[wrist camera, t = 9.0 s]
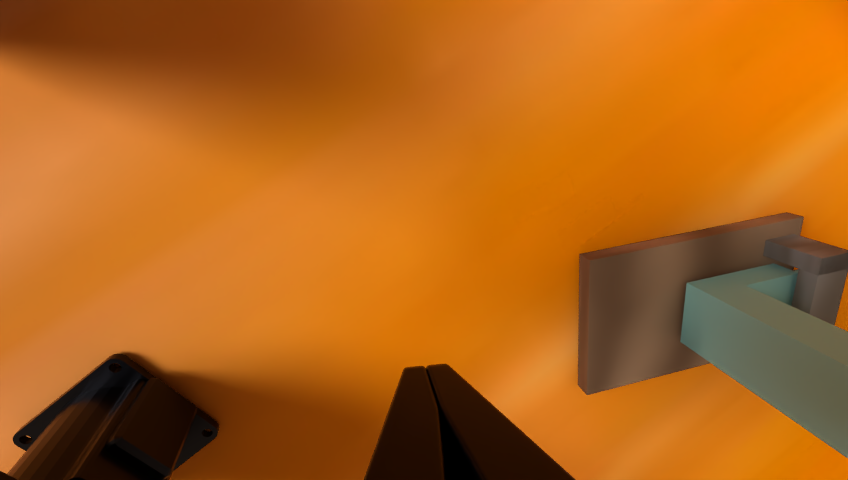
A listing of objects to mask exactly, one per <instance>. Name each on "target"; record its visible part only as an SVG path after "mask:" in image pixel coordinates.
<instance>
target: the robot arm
mask: <svg viewBox="0 0 848 480" xmlns="http://www.w3.org/2000/svg"><path fill="white" fill-rule="evenodd" d="M113 363H117V364H120V366H121V367H116V366H114V365H113ZM205 429H210V430H212V431H206V430H205ZM218 431H219V424H218V423H217V421H215V420H214V419H212V418H211V417H210V416H208V415H207V414H206V413H204V412H203V411H201V410H200V409H199V408H197V407H196V406H195V405H194V404H193V403H191V402H190V401H188V400H187V399H186V398H184V397H183V396H182V395H180V394H179V393H177V392H176V391H175V390H173V389H172V388H171V387H169V386H168V385H166V384H165V383H164V382H162V381H161V380H160V379H158V378H156V377H155V376H153V375H152V374H151V373H149V372H148V371H147V370H145V369H144V368H142V367H141V366H140V365H138V364H137V363H136V362H134V361H133V360H131V359H130V358H129V357H127V356H125V355H123V354H114V355H112V356H110V357H109V358H107V359H106V360H105V361H104V362H102V363H101V364H100V365H99V366H97V367H96V368H95V369H94V370H92V371H91V372H90V373H89V374H87V375H86V376H85V377H84V378H83V379H81V380H80V381H79V382H78V383H76V384H75V385H74V386H73V387H71V388H70V389H69V390H68V391H66V392H65V393H64V394H63V395H61V396H60V397H59V398H58V399H56V400H55V401H54V402H53V403H51V404H50V405H49V406H48V407H46V408H45V409H44V410H43V411H41V412H40V413H39V414H38V415H36V416H35V417H34V418H33V419H31V420H30V421H29V422H28V423H26V424H25V425H24V426H23V427H22V428H21V429H20V430H19V431H18V432H17V433H16V434H15V435H14V437H13V442H14V444H15V445H17V446H18V447H20V448H22V449H23V450H25V451H26V452H25V453H24V454H23V456H22V457H21V458H20V459H19V460H18V462H17V463H16V464H15V465H14V466H13V468H12V469H11V470H10V471H9V472H8V473H7V474H5V473H3V472H1V471H0V480H169V479H170V476H171V474H172V472H173V471H174V470H175V469H176V468H178V467H179V466H180V465H181V464H183V463H184V462H185V461H186V460H188V459H189V458H190V457H192V456H193V455H194V454H195V453H197V452H198V451H199V450H200V449H202V448H203V447H204V446H206V445H207V444H208V443H209V442H211V441H212V440H213V439H214V438H215V437H216V436H217V434H218ZM26 435H27V436H30V437H31V438H29V437H27V436H26ZM364 480H575V479H574V478H573V477H572V476H571V475H570V474H569V473H568V472H566V471H565V470H564V469H563V468H562V467H561V466H560V465H559V464H558V463H556V462H555V461H554V460H553V459H552V458H551V457H550V456H549V455H548V454H546V453H545V452H544V451H543V450H542V449H541V448H540V447H539V446H538V445H536V444H535V443H534V442H533V441H532V440H531V439H530V438H529V437H528V436H526V435H525V434H524V433H523V432H522V431H521V430H520V429H519V428H518V427H517V426H515V425H514V424H513V423H512V422H511V421H510V420H509V419H508V418H507V417H505V416H504V415H503V414H502V413H501V412H500V411H499V410H498V409H497V408H495V407H494V406H493V405H492V404H491V403H490V402H489V401H488V400H487V399H485V398H484V397H483V396H482V395H481V394H480V393H479V392H478V391H477V390H475V389H474V388H473V387H472V386H471V385H470V384H469V383H468V382H467V381H466V380H464V379H463V378H462V377H461V376H460V375H459V374H458V373H457V372H456V371H454V370H453V369H452V368H451V367H450V366H449V365H447V364H436V365H428V366H427V367H426V368H425V367H424V366H415V367H406V368H404V370H403V372H402V375H401V378H400V380H399V383H398V386H397V389H396V391H395V394H394V397H393V400H392V402H391V405H390V408H389V411H388V414H387V416H386V419H385V422H384V425H383V427H382V430H381V433H380V436H379V439H378V441H377V444H376V447H375V450H374V452H373V455H372V458H371V461H370V463H369V466H368V469H367V472H366V475H365V477H364Z"/></svg>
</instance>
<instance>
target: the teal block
mask: <svg viewBox="0 0 848 480" xmlns="http://www.w3.org/2000/svg"><path fill="white" fill-rule="evenodd" d="M798 270H799V269H798ZM798 270H790V269H787V268H785V267H782V266H779V265H777V264H774V263H773V264H769V265H764V266H760V267H755V268H751V269H746V270H742V271H737V272H733V273H728V274H724V275H719V276H715V277H710V278H706V279H701V280H697V281H692V282H688V283H687V284H686V294H685V303H684V312H683V321H682V331H681V340H680V342H681V343H683V344H684V345H686V346H687V347H689V348H690V349H691V350H693V351H694V352H696V353H697V354H699V355H700V356H701V357H703V358H704V359H706V360H707V361H709V362H710V363H712V364H713V365H714V366H716V367H717V368H719V369H720V370H722V371H723V372H724V373H726V374H727V375H729V376H730V377H732V378H733V379H735V380H736V381H737V382H739V383H740V384H742V385H743V386H745V387H746V388H747V389H749V390H750V391H752V392H753V393H755V394H756V395H758V396H759V397H760V398H762V399H763V400H765V401H766V402H768V403H769V404H770V405H772V406H773V407H775V408H776V409H778V410H779V411H781V412H782V413H783V414H785V415H786V416H788V417H789V418H791V419H792V420H793V421H795V422H796V423H798V424H799V425H801V426H802V427H804V428H805V429H806V430H808V431H809V432H811V433H812V434H814V435H815V436H816V437H818V438H819V439H821V440H822V441H824V442H825V443H827V444H828V445H829V446H831V447H832V448H834V449H835V450H837V451H838V452H839V453H841V454H842V455H844V456H845V457H847V458H848V332H847V331H845V330H843V329H841V328H839V327H836V326H834V325H832V324H830V323H828V322H825V321H823V320H821V319H819V318H817V317H814V316H812V315H810V314H808V313H805V312H803V311H801V310H799V309H797V308H794V307H792V306H791V305H792V300H793V295H794V290H795V285H796V280H797V275H798Z"/></svg>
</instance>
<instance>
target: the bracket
mask: <svg viewBox="0 0 848 480" xmlns="http://www.w3.org/2000/svg"><path fill="white" fill-rule="evenodd" d="M803 218H804V217H803V216H799V215H795V214H791V213H782V214H777V215H772V216H767V217H762V218H757V219H752V220H747V221H742V222H737V223H732V224H727V225H722V226H717V227H712V228H707V229H703V230H698V231H693V232H688V233H683V234H678V235H673V236H668V237H663V238H658V239H653V240H648V241H643V242H638V243H633V244H628V245H623V246H618V247H613V248H608V249H603V250H598V251H593V252H588V253H583V254H580V267H579V348H578V385H579V387H580V388H581V389H582V390H583V391H584V392H585V393H586V395H590V394H593V393H597V392H601V391H605V390H609V389H613V388H616V387H620V386H624V385H628V384H632V383H636V382H639V381H643V380H647V379H651V378H655V377H659V376H662V375H666V374H670V373H674V372H678V371H682V370H685V369H689V368H693V367H697V366H701V365H705V364H709V363H710V362H709V361H707V360H706V359H704V358H703V357H701V356H700V355H699V354H697V353H696V352H694V351H693V350H691V349H690V348H689V347H687V346H686V345H684V344H683V343H681V342H680V340H681V331H682V321H683V312H684V303H685V294H686V284H687V283H688V282H692V281H697V280H701V279H706V278H710V277H715V276H719V275H724V274H728V273H733V272H737V271H742V270H746V269H751V268H755V267H760V266H764V265H769V264H773V263H774V264H777V265H779V266H782V267H785V268H787V269H790V270H793V268H794V267H796V268H798V269H799V270H798V275H797V280H796V285H795V290H794V295H793V300H792V305H791V306H792V307H794V308H797V309H799V310H801V311H803V312H805V313H808V314H810V315H812V316H814V317H817V318H819V319H821V320H823V321H825V322H828V323H830V324H832V325H835V321H836V317H837V313H838V309H839V305H840V300H841V296H842V292H843V288H844V284H845V280H846V276H847V272H848V250H846V249H842V248H839V247H836V246H832V245H829V244H825V243H822V242H819V241H815V240H812V239H809V238H805V237H802V236H800V233H801V228H802V223H803Z"/></svg>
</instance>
